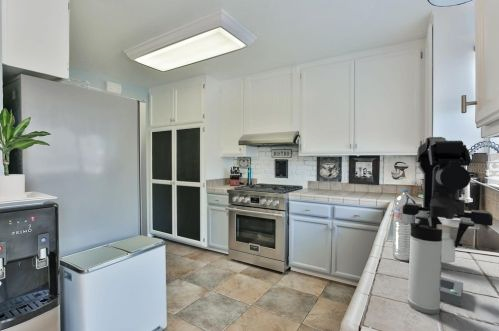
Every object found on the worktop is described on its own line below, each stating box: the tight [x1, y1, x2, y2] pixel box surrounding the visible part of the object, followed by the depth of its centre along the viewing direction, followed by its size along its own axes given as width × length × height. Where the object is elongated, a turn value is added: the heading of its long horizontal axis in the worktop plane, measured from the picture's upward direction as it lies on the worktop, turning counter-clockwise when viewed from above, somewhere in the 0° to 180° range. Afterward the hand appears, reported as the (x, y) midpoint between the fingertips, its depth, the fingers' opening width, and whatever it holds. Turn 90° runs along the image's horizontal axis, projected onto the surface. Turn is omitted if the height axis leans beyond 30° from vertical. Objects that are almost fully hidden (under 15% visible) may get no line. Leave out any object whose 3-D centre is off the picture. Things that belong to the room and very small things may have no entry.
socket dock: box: [440, 276, 464, 308], centre depth 68 cm, size 10×9×3 cm
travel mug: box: [407, 222, 442, 315], centre depth 61 cm, size 6×7×20 cm
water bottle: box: [392, 189, 417, 262], centre depth 93 cm, size 7×7×25 cm
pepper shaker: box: [437, 223, 456, 264], centre depth 69 cm, size 4×4×10 cm
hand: (443, 244), depth 69 cm, fingers closed on pepper shaker, 5 cm apart
